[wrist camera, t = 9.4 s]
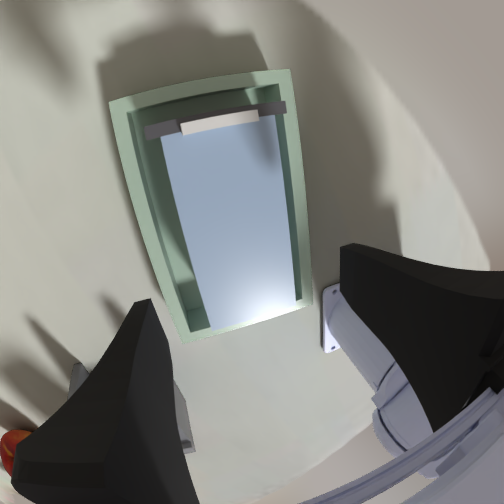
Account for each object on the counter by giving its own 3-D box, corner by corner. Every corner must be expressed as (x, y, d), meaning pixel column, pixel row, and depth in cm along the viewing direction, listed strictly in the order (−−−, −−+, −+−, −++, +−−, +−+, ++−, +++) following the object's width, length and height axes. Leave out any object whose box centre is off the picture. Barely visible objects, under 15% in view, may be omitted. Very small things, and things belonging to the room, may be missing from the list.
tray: (271, 75, 16) (290, 68, 14) (296, 283, 23) (313, 304, 21) (117, 105, 14) (108, 102, 12) (178, 317, 22) (182, 344, 19)
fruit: (52, 425, 23) (46, 482, 16) (67, 454, 26) (65, 503, 19) (-2, 411, 20) (-14, 463, 14) (18, 443, 23) (12, 489, 16)
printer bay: (156, 346, 22) (160, 405, 17) (185, 400, 26) (195, 451, 21) (74, 364, 21) (64, 419, 16) (113, 414, 25) (114, 463, 19)
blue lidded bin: (252, 105, 16) (289, 99, 11) (274, 262, 21) (309, 306, 17) (149, 126, 15) (142, 127, 10) (191, 285, 20) (203, 339, 15)
